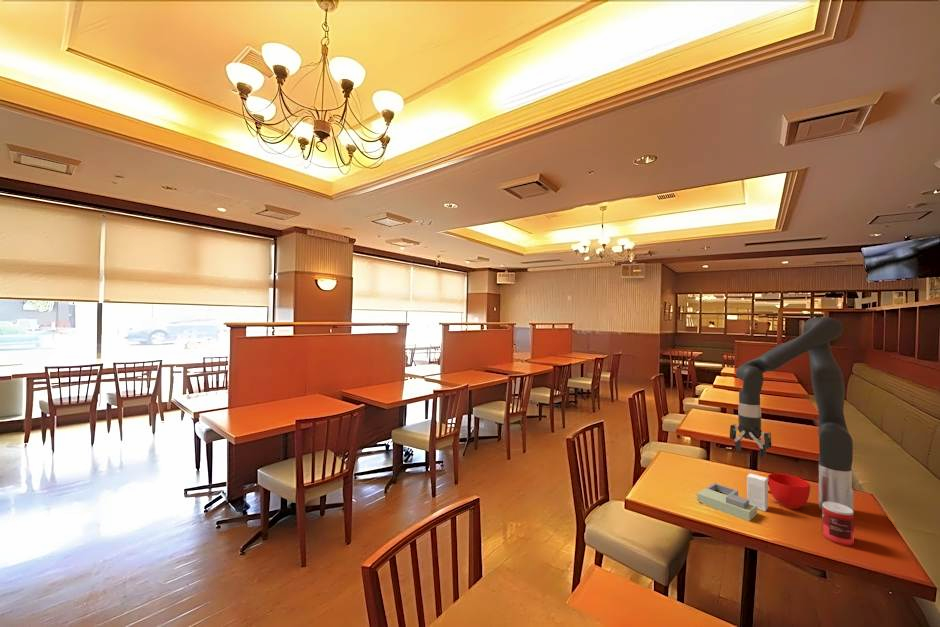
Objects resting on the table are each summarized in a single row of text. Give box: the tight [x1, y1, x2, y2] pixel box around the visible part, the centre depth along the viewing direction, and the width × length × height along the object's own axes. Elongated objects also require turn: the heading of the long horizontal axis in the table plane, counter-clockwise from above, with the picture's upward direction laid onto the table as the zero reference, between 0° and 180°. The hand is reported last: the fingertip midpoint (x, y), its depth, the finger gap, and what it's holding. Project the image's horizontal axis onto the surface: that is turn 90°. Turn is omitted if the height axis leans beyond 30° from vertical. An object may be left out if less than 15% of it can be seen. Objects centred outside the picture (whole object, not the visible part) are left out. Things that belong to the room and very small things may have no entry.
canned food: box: [821, 502, 855, 547], centre depth 130 cm, size 8×8×11 cm
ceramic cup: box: [767, 472, 811, 510], centre depth 154 cm, size 13×17×10 cm
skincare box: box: [746, 473, 769, 512], centre depth 151 cm, size 6×4×12 cm
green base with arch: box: [696, 482, 758, 522], centre depth 154 cm, size 18×18×6 cm
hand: (749, 454), depth 156 cm, fingers open, 8 cm apart
